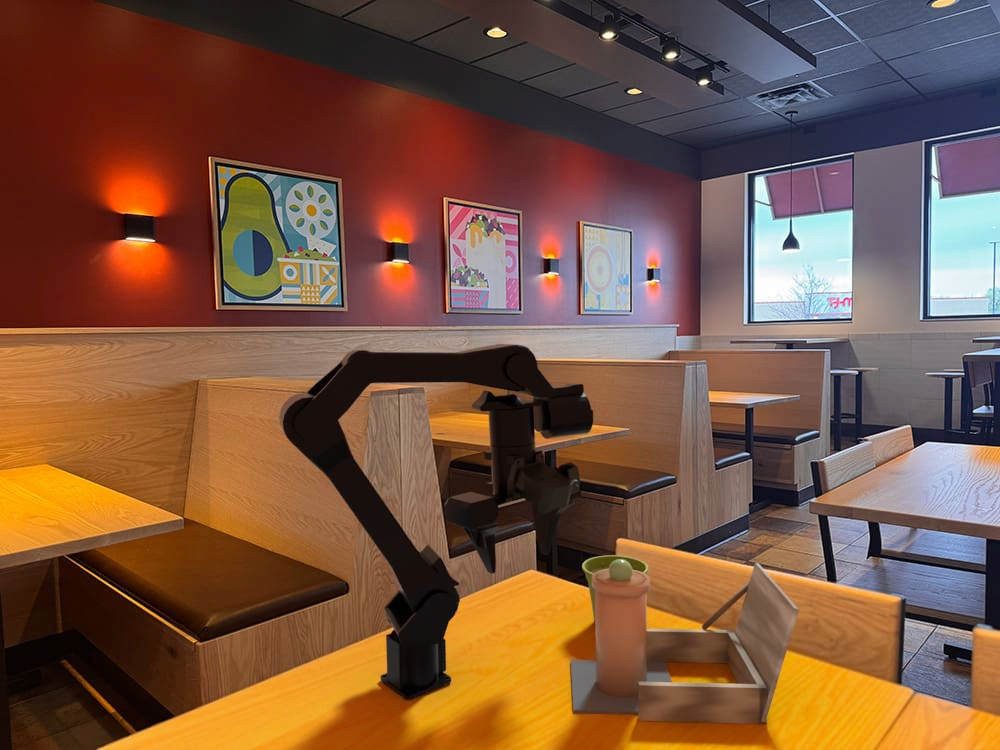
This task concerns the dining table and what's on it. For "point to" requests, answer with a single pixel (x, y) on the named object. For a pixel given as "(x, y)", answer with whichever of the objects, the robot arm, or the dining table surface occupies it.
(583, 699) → the mat
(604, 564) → the plant pot
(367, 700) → the dining table surface
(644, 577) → the pink lidded canister
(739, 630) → the brown open rectangular box
